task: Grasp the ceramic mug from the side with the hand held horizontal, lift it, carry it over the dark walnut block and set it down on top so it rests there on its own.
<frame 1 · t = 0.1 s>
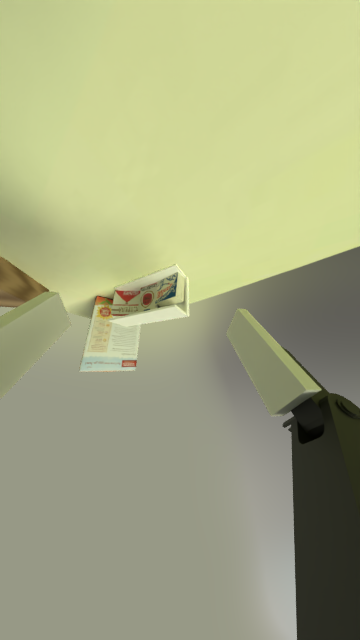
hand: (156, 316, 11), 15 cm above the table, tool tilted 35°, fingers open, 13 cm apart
cracker box: (120, 304, 44), on the table
white packet holder: (147, 282, 33), on the table
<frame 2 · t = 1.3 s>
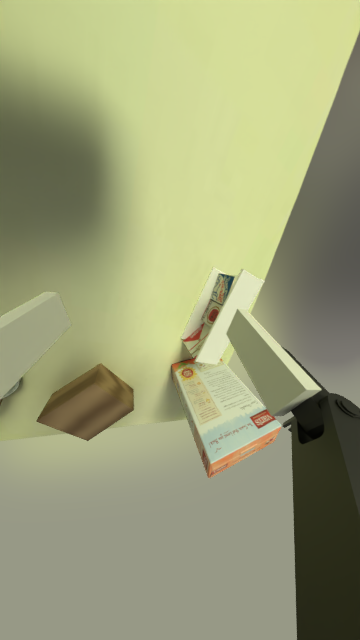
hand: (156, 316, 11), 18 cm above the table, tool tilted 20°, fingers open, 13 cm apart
cracker box: (194, 364, 40), on the table
white packet holder: (203, 310, 33), on the table
walnut block: (97, 390, 33), on the table
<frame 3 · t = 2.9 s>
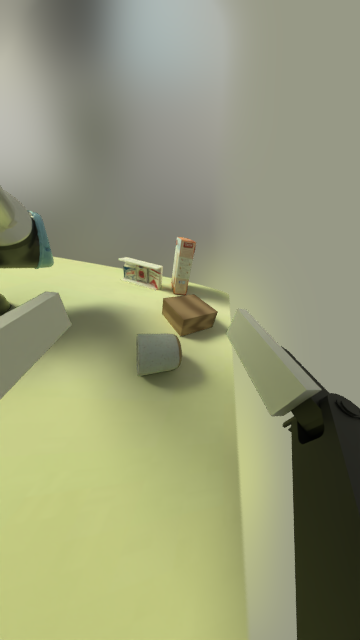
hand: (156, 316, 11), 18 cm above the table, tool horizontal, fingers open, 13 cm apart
cracker box: (178, 289, 64), on the table
white packet holder: (142, 284, 63), on the table
ceramic mug: (154, 359, 29), on the table
walnut block: (186, 320, 43), on the table
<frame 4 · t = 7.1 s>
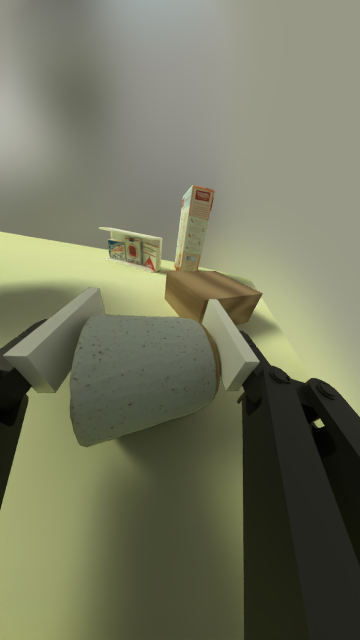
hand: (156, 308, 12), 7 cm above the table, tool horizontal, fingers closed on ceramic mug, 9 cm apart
cracker box: (184, 272, 47), on the table
white packet holder: (134, 265, 45), on the table
ceramic mug: (146, 378, 13), on the table, touching gripper
walnut block: (203, 310, 27), on the table
when the fingers open (14 cm above the table, at t = 11.1 s): ceramic mug drops 2 cm, resting on walnut block.
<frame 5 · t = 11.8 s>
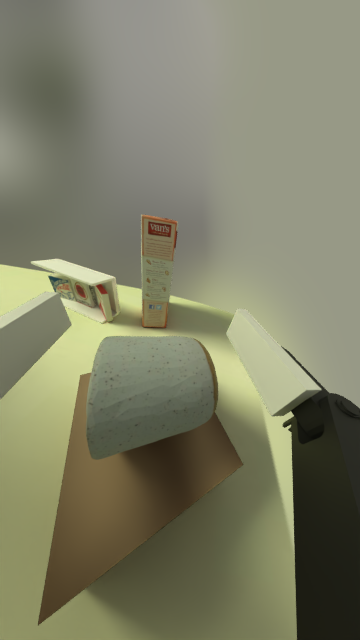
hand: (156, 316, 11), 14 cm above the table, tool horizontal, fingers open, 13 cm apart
cracker box: (155, 313, 37), on the table
white packet holder: (85, 307, 34), on the table
ceramic mug: (150, 389, 14), point 5 cm above the table, touching walnut block
walnut block: (148, 433, 16), on the table, touching ceramic mug
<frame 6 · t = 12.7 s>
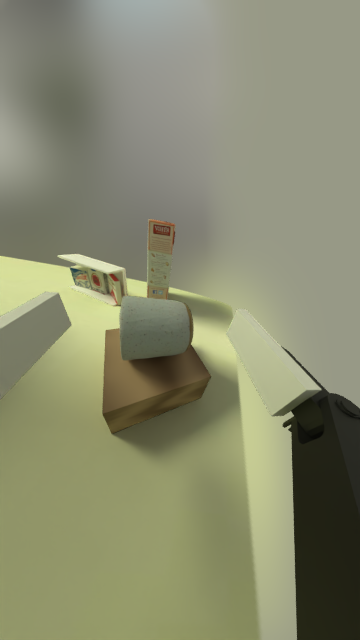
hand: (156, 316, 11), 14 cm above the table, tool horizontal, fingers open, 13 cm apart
cracker box: (157, 300, 44), on the table
white packet holder: (99, 295, 41), on the table
ceramic mug: (151, 341, 20), point 5 cm above the table, touching walnut block
walnut block: (151, 375, 22), on the table, touching ceramic mug
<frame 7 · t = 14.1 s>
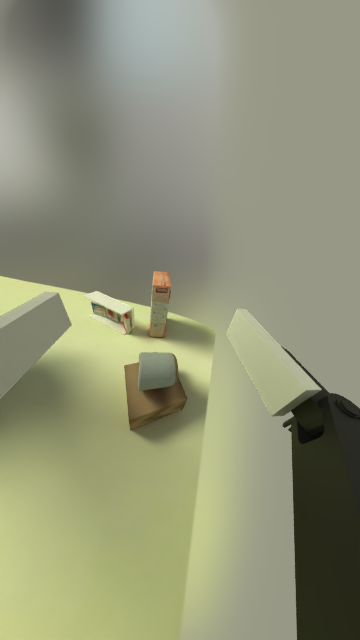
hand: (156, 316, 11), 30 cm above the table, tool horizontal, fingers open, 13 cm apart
cracker box: (157, 326, 56), on the table
white packet holder: (112, 322, 53), on the table
ceramic mug: (154, 374, 33), point 5 cm above the table, touching walnut block
walnut block: (152, 393, 34), on the table, touching ceramic mug
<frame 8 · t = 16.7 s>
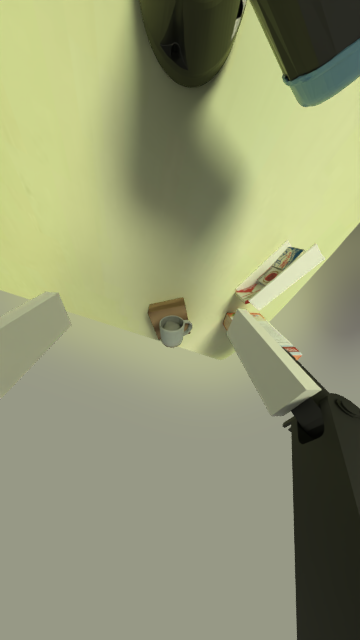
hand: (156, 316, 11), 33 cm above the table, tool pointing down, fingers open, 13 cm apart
cracker box: (240, 318, 54), on the table
white packet holder: (261, 273, 43), on the table
ceramic mug: (175, 323, 45), point 5 cm above the table, touching walnut block
walnut block: (170, 314, 50), on the table, touching ceramic mug
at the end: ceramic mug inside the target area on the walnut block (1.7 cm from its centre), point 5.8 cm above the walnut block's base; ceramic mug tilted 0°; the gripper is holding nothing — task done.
